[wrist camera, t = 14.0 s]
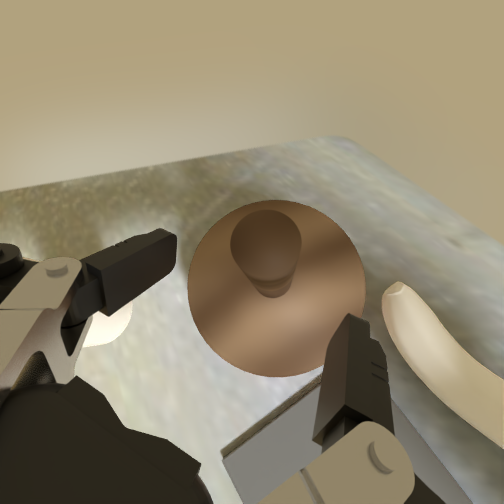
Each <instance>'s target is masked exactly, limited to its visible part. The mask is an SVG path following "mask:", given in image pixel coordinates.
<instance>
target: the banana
mask: <svg viewBox="0 0 504 504" xmlns="http://www.w3.org/2000/svg"><path fill="white" fill-rule="evenodd" d="M382 312H383V317H384V320H385V323H386V326H387V329H388V331H389V334H390V336H391V338H392V340H393V342H394V343H395V345H396V347H397V349H398V350H399V352H400V353H401V355H402V356H403V358H404V359H405V361H406V362H407V363H408V365H409V366H410V367H411V369H412V370H413V371H414V372H415V373H416V375H417V376H418V377H419V378H420V379H421V380H422V381H423V382H424V383H425V384H426V386H427V387H428V388H429V389H430V390H431V391H432V392H433V393H434V394H435V395H436V396H437V397H438V398H439V399H440V400H441V401H442V402H444V403H445V404H446V405H447V406H448V407H449V408H450V409H452V410H453V411H454V412H455V413H457V414H458V415H459V416H460V417H461V418H463V419H464V420H465V421H467V422H468V423H469V424H470V425H472V426H473V427H474V428H476V429H477V430H478V431H480V432H481V433H482V434H484V435H485V436H486V437H488V438H489V439H490V440H492V441H493V442H494V443H496V444H497V445H498V446H500V447H501V448H503V449H504V380H503V379H502V378H500V377H499V376H497V375H495V374H494V373H493V372H491V371H490V370H488V369H487V368H486V367H484V366H483V365H481V364H480V363H479V362H478V361H476V360H475V359H474V358H473V357H472V356H471V355H469V354H468V353H467V352H466V351H465V350H464V349H463V348H462V347H461V346H460V345H459V344H458V343H457V342H456V340H455V339H454V338H453V337H452V336H451V335H450V334H449V332H448V331H447V330H446V329H445V328H444V326H443V325H442V323H441V322H440V321H439V319H438V318H437V316H436V315H435V314H434V312H433V311H432V310H431V309H430V307H429V306H428V305H427V304H426V303H425V302H424V301H423V300H422V299H421V298H420V297H419V296H418V294H417V293H416V292H415V291H414V290H413V289H411V288H410V287H409V286H407V285H405V284H404V283H403V282H398V281H397V282H396V283H394V284H393V285H391V286H390V287H389V288H388V289H386V290H385V292H384V294H383V296H382Z"/></svg>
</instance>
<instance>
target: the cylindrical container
mask: <svg viewBox="0 0 504 504" xmlns="http://www.w3.org/2000/svg"><path fill="white" fill-rule="evenodd" d="M23 259H26V260H31V261H36V262H41V261H37V260H33V259H29V258H25V257H23ZM132 308H133V302H132V301H130V302H129V303H128V304H126V305H125V306H123V307H122V308H121V309H119V310H118V311H116V312H115V313H114V314H112V315H111V316H110V317H108V316H106V315H104V314H102V313H101V312H99V311H98V312H96V313H95V314H93V321H92V323H91V326H90V328H89V331H88V333H87V336H86V338H85V341H84V343H83V346H82V347H88V346H95V345H103V344H106V343H109V342H111V341H112V340H114V339H115V338H117V337H118V336H119V335H120V334H121V333H122V332H123V331H124V329H125V328H126V326H127V325H128V323H129V320H130V318H131V314H132Z"/></svg>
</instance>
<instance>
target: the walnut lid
mask: <svg viewBox="0 0 504 504" xmlns="http://www.w3.org/2000/svg"><path fill="white" fill-rule="evenodd" d="M365 296H366V282H365V275H364V269H363V266H362V263H361V259H360V257H359V255H358V252H357V250H356V248H355V246H354V245H353V243H352V241H351V240H350V238H349V237H348V236H347V235H346V233H345V232H344V231H343V230H342V229H341V228H340V227H339V226H338V225H337V224H336V223H335V222H334V221H333V220H331V219H330V218H329V217H327V216H326V215H325V214H323V213H321V212H319V211H318V210H316V209H314V208H311V207H309V206H306V205H303V204H300V203H296V202H291V201H284V200H269V201H261V202H255V203H252V204H249V205H245V206H243V207H241V208H238V209H236V210H234V211H232V212H231V213H229V214H227V215H226V216H224V217H223V218H222V219H220V220H219V221H218V222H217V223H216V224H215V225H214V226H213V227H212V228H211V229H210V230H209V231H208V232H207V234H206V235H205V236H204V237H203V239H202V241H201V242H200V244H199V245H198V247H197V249H196V252H195V254H194V256H193V259H192V262H191V265H190V270H189V275H188V300H189V306H190V310H191V314H192V317H193V320H194V322H195V324H196V326H197V328H198V330H199V332H200V334H201V335H202V337H203V338H204V340H205V341H206V343H207V344H208V345H209V346H210V347H211V348H212V350H213V351H214V352H216V353H217V354H218V355H219V356H220V357H221V358H222V359H224V360H225V361H227V362H228V363H230V364H231V365H233V366H235V367H237V368H239V369H241V370H243V371H246V372H249V373H252V374H256V375H260V376H267V377H288V376H296V375H299V374H303V373H306V372H309V371H311V370H314V369H316V368H318V367H320V366H322V365H323V364H324V362H325V356H326V350H327V347H328V344H329V342H330V340H331V338H332V336H333V335H334V333H335V331H336V330H337V328H338V327H339V325H340V324H341V322H342V320H343V319H344V317H345V316H346V315H347V314H348V313H350V314H352V315H354V316H357V317H359V318H361V317H362V313H363V309H364V304H365Z"/></svg>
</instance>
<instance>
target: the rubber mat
mask: <svg viewBox="0 0 504 504" xmlns="http://www.w3.org/2000/svg"><path fill="white" fill-rule="evenodd" d="M320 386H321V383H320V384H319V385H318V386H316V387H315V388H314V389H312V390H311V391H310V392H308V393H307V394H306V395H305V396H303V397H302V398H301V399H299V400H298V401H297V402H295V403H294V404H293V405H292V406H290V407H289V408H288V409H286V410H285V411H284V412H282V413H281V414H280V415H279V416H277V417H276V418H275V419H273V420H272V421H271V422H269V423H268V424H267V425H266V426H264V427H263V428H262V429H260V430H259V431H258V432H256V433H255V434H254V435H253V436H251V437H250V438H249V439H247V440H246V441H245V442H243V443H242V444H241V445H240V446H238V447H237V448H236V449H234V450H233V451H232V452H230V453H229V454H228V455H227V456H225V457H224V458H223V460H222V462H223V464H224V466H225V468H226V470H227V472H228V474H229V476H230V478H231V480H232V482H233V484H234V486H235V488H236V490H237V492H238V494H239V496H240V498H241V500H242V502H243V504H257V503H258V502H260V501H261V500H262V499H263V498H265V497H266V496H267V495H268V494H270V493H271V492H272V491H273V490H275V489H276V488H277V487H279V486H280V485H281V484H282V483H284V482H285V481H286V480H287V479H289V478H290V477H291V476H293V475H294V474H295V473H296V472H298V471H299V470H301V469H303V468H305V467H306V466H307V465H309V464H310V463H311V462H312V461H314V460H315V459H316V458H317V457H319V456H320V455H321V451H322V446H320V445H319V444H317V443H315V442H314V441H312V436H313V430H314V424H315V417H316V411H317V405H318V399H319V393H320ZM391 406H392V414H393V423H394V432H395V437H396V438H397V439H398V440H399V442H400V443H401V445H402V446H403V447H404V449H405V451H406V452H407V454H408V456H409V458H410V461H411V464H412V467H413V470H414V473H415V474H416V475H417V476H418V477H419V478H420V479H421V480H422V481H423V482H424V483H425V484H426V485H427V486H428V487H429V488H430V489H431V490H432V491H433V492H434V493H435V494H437V495H438V496H439V497H440V498H441V499H442V500H443V501H444V502H445V503H446V504H473V503H472V501H471V500H470V499H469V498H468V496H467V495H466V494H465V492H464V491H463V490H462V489H461V487H460V486H459V485H458V483H457V482H456V481H455V480H454V478H453V477H452V476H451V474H450V473H449V472H448V471H447V469H446V468H445V467H444V465H443V464H442V463H441V462H440V460H439V459H438V458H437V456H436V455H435V454H434V453H433V451H432V450H431V449H430V447H429V446H428V445H427V444H426V442H425V441H424V440H423V438H422V437H421V436H420V435H419V433H418V432H417V431H416V429H415V428H414V427H413V426H412V424H411V423H410V422H409V420H408V419H407V418H406V417H405V415H404V414H403V413H402V411H401V410H400V409H399V408H398V406H397V405H396V404H395V402H394V401H393V400H392V399H391Z"/></svg>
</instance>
